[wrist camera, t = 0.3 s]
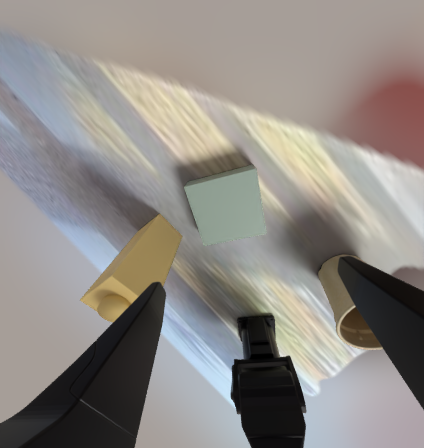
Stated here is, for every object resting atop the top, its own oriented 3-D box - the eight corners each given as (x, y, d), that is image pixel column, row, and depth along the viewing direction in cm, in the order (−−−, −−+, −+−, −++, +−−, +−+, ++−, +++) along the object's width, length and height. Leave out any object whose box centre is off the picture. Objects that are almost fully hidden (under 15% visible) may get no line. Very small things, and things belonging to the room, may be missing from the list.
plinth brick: (262, 224, 25) (266, 233, 22) (205, 236, 26) (204, 246, 24) (252, 164, 21) (256, 168, 19) (187, 181, 23) (183, 187, 20)
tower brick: (182, 236, 26) (151, 317, 15) (160, 252, 28) (117, 336, 16) (159, 213, 25) (105, 283, 13) (137, 231, 26) (72, 308, 15)
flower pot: (292, 278, 29) (318, 332, 21) (339, 232, 25) (392, 278, 17) (338, 300, 30) (377, 358, 23) (389, 261, 26) (457, 315, 19)
